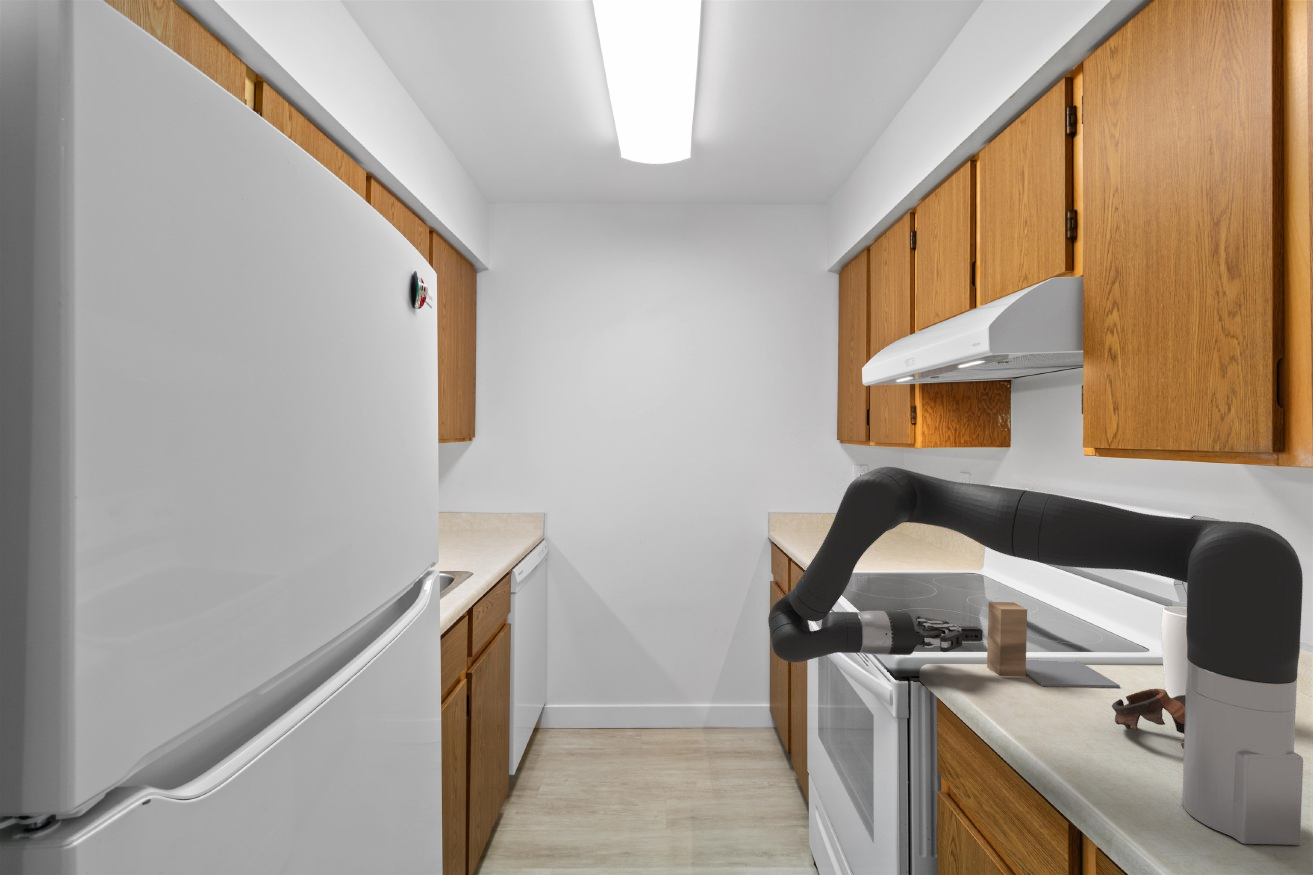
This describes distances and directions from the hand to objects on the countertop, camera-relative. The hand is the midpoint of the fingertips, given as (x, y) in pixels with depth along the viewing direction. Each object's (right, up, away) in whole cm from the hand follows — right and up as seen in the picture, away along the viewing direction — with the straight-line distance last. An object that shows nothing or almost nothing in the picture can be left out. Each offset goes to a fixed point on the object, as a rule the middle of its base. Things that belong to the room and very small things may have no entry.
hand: (980, 633), depth 117 cm
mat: (+14, -7, 0) cm, 16 cm away
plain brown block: (+5, -7, 0) cm, 8 cm away
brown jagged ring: (+14, -8, -24) cm, 29 cm away
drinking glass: (+26, -8, -13) cm, 30 cm away
